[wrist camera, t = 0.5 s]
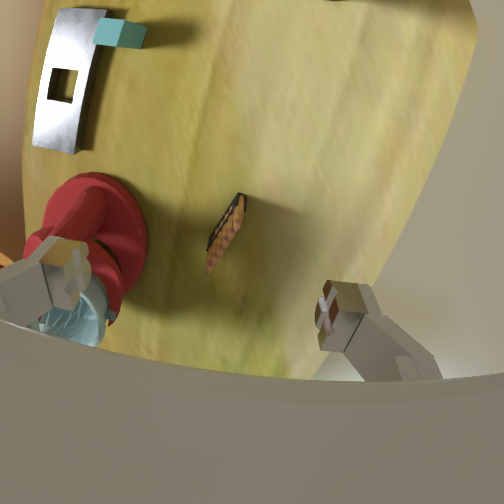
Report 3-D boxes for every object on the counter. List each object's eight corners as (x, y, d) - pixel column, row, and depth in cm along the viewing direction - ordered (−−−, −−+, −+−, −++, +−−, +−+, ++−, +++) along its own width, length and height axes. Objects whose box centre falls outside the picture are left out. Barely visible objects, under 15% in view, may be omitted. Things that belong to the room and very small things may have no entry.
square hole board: (68, 9, 36) (59, 7, 33) (114, 12, 37) (106, 9, 35) (40, 140, 49) (32, 144, 46) (81, 150, 50) (73, 154, 48)
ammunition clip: (238, 192, 55) (234, 223, 45) (247, 197, 56) (245, 229, 46) (209, 237, 60) (199, 275, 50) (217, 242, 61) (210, 280, 50)
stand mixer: (48, 276, 66) (-34, 408, 32) (54, 152, 50) (-104, 273, 16) (135, 309, 70) (81, 467, 36) (164, 186, 55) (54, 372, 21)
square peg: (126, 24, 39) (99, 17, 30) (147, 27, 39) (124, 20, 31) (119, 45, 41) (91, 43, 32) (140, 49, 41) (116, 46, 33)
